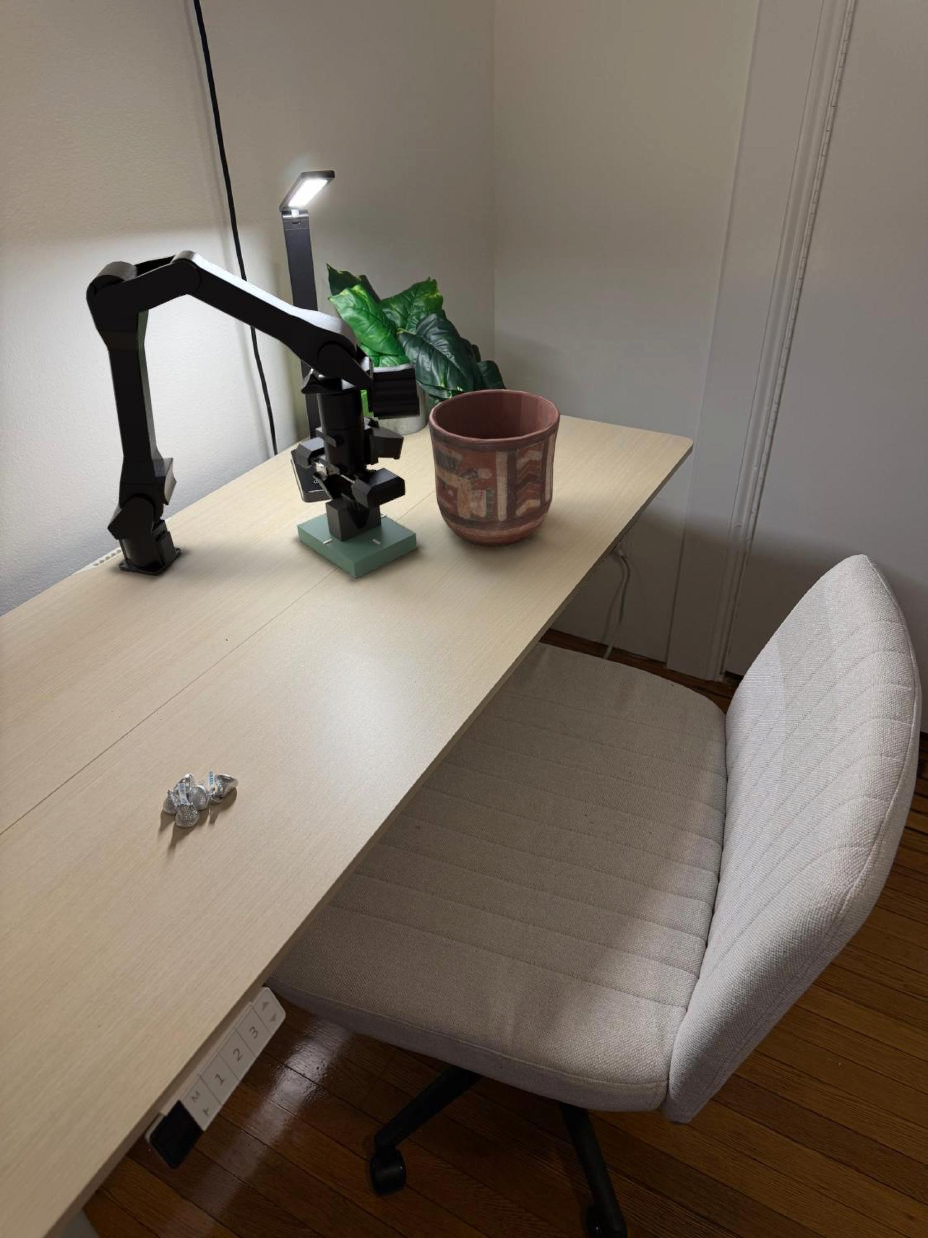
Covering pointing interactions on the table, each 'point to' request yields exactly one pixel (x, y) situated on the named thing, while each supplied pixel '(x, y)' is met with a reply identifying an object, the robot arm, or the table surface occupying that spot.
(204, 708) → the table surface
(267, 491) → the table surface
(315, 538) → the green flat block
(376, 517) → the block
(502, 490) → the pottery
